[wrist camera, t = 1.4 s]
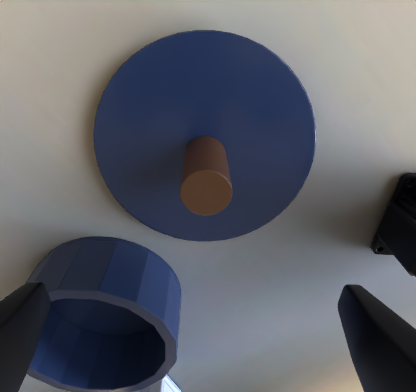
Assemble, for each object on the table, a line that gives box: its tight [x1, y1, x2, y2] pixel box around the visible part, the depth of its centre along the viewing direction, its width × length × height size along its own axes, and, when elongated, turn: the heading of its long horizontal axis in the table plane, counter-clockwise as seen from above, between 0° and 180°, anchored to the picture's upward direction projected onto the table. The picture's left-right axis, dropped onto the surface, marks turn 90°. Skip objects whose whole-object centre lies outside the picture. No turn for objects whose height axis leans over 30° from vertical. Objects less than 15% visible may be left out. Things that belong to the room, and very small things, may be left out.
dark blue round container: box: [26, 237, 181, 392], centre depth 22 cm, size 12×12×5 cm
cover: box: [94, 30, 316, 241], centre depth 16 cm, size 13×13×6 cm
